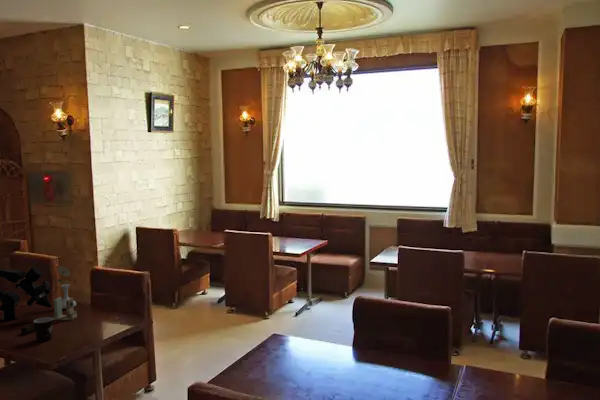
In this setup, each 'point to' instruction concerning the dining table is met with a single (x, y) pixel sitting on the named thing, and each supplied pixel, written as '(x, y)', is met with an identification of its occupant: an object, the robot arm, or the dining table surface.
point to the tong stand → (68, 311)
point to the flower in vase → (65, 286)
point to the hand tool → (28, 328)
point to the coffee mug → (43, 328)
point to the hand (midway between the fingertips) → (50, 306)
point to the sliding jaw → (58, 307)
